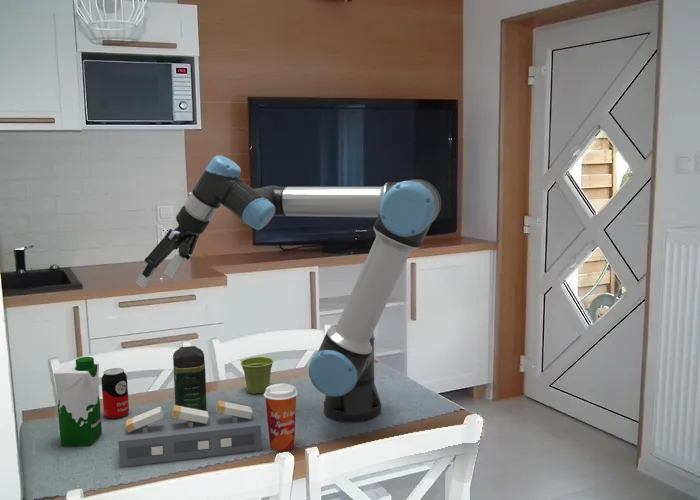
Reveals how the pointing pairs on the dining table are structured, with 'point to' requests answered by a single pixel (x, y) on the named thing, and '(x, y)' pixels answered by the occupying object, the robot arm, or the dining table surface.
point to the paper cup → (281, 415)
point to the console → (189, 439)
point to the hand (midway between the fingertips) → (154, 280)
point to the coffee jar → (190, 378)
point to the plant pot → (257, 373)
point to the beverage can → (115, 393)
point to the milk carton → (78, 402)
